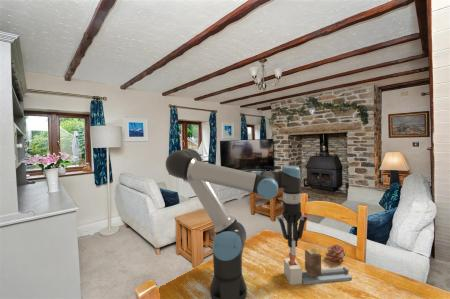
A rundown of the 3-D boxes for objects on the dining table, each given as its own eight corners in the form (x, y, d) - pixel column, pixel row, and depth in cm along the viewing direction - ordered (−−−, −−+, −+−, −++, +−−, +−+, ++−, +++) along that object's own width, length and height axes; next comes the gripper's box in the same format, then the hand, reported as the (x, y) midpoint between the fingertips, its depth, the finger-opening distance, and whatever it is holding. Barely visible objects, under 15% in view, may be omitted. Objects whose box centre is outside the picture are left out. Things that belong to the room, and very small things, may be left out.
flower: (345, 253, 112) (335, 239, 113) (354, 259, 103) (343, 245, 104) (330, 263, 112) (320, 250, 113) (338, 271, 103) (327, 256, 104)
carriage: (310, 276, 93) (310, 254, 92) (304, 269, 98) (304, 248, 97) (321, 275, 93) (321, 253, 93) (315, 268, 98) (315, 248, 98)
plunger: (290, 269, 94) (290, 256, 94) (287, 264, 97) (287, 252, 97) (297, 268, 94) (297, 255, 94) (294, 264, 97) (294, 251, 97)
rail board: (303, 284, 92) (303, 277, 92) (296, 274, 99) (296, 267, 99) (351, 279, 94) (352, 273, 94) (341, 269, 101) (341, 263, 101)
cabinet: (290, 284, 92) (290, 269, 91) (283, 273, 100) (283, 258, 99) (302, 283, 92) (301, 268, 92) (294, 272, 100) (294, 257, 100)
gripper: (280, 205, 89) (281, 259, 91) (310, 203, 91) (310, 257, 92) (274, 200, 97) (275, 250, 98) (302, 198, 98) (302, 248, 100)
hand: (292, 253), depth 95 cm, fingers closed
